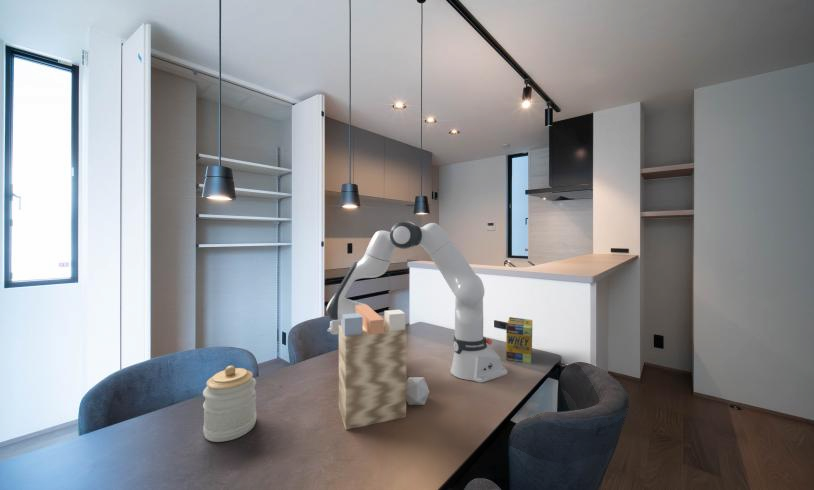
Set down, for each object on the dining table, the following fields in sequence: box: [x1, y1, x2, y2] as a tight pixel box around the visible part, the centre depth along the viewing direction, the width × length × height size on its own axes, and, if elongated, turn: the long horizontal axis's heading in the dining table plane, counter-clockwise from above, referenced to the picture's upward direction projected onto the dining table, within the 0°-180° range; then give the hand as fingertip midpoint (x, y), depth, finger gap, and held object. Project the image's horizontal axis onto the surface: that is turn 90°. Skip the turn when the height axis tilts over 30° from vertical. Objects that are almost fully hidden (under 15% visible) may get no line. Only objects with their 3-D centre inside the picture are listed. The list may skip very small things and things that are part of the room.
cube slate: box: [342, 313, 363, 336], centre depth 91 cm, size 5×5×5 cm
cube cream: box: [383, 309, 406, 332], centre depth 96 cm, size 5×5×5 cm
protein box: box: [505, 316, 533, 365], centre depth 142 cm, size 10×15×16 cm
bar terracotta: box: [355, 304, 384, 335], centre depth 100 cm, size 4×21×4 cm, turn 21°
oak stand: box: [338, 325, 407, 431], centre depth 96 cm, size 18×12×26 cm
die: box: [406, 376, 430, 406], centre depth 102 cm, size 8×9×10 cm
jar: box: [202, 365, 257, 443], centre depth 88 cm, size 13×13×18 cm
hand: (361, 318), depth 110 cm, fingers open, 8 cm apart
